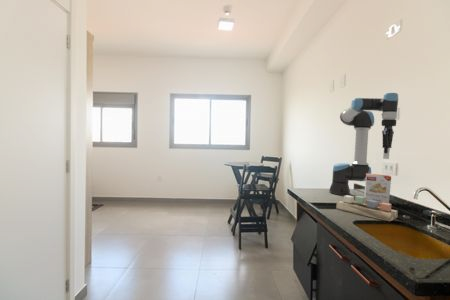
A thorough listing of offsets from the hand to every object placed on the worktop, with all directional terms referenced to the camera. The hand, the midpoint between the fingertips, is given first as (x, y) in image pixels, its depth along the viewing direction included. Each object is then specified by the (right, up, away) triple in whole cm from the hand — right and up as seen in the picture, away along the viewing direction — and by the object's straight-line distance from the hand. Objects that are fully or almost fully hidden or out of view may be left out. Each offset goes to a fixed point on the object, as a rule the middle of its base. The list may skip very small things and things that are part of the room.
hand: (386, 158), depth 167 cm
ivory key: (-20, -30, +6) cm, 36 cm away
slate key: (-11, -31, -5) cm, 33 cm away
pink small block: (-6, -31, -10) cm, 33 cm away
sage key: (-16, -29, 0) cm, 33 cm away
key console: (-13, -32, -2) cm, 35 cm away
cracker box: (+2, -32, +14) cm, 35 cm away
